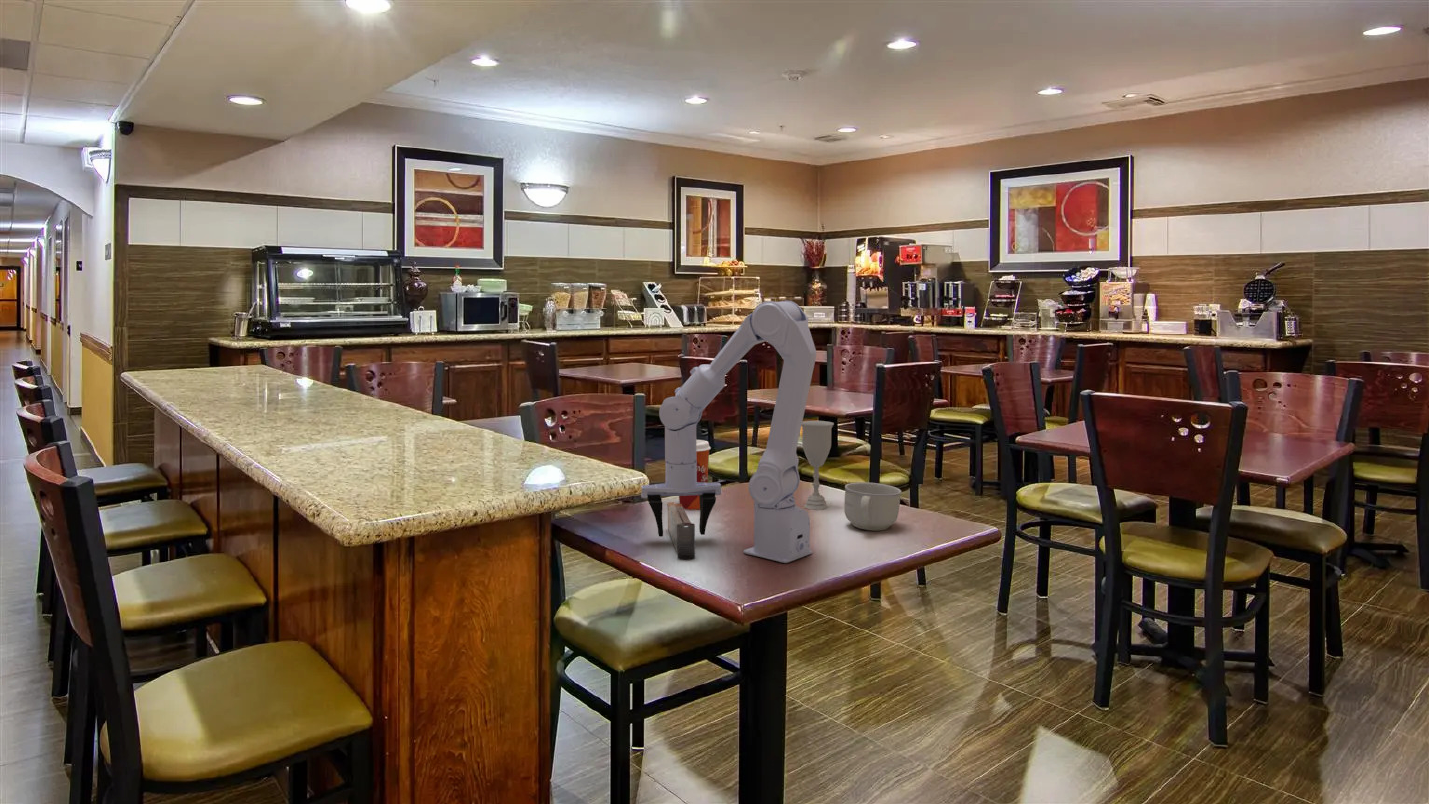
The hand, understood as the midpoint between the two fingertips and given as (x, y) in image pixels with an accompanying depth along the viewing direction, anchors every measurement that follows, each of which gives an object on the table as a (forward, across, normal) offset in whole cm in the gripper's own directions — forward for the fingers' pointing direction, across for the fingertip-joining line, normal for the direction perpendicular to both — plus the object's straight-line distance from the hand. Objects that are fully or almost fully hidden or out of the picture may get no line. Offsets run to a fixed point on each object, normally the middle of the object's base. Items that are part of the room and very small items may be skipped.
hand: (681, 534), depth 167 cm
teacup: (+2, -37, -3) cm, 37 cm away
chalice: (+2, -32, -22) cm, 38 cm away
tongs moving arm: (+1, +1, -1) cm, 2 cm away
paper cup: (+2, -6, -26) cm, 27 cm away
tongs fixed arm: (+1, 0, +1) cm, 2 cm away
